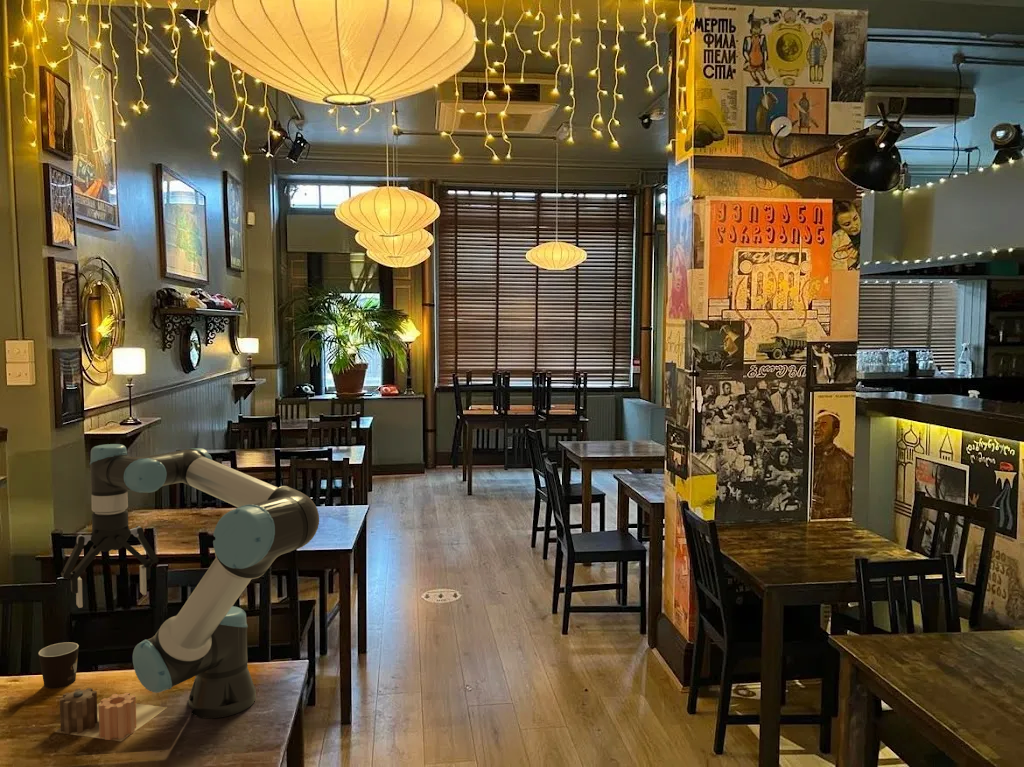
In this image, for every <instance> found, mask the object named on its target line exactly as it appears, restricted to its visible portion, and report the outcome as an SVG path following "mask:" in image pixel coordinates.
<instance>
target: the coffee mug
mask: <svg viewBox="0 0 1024 767" xmlns="http://www.w3.org/2000/svg"><path fill="white" fill-rule="evenodd" d="M79 646H80V645H79V644H78V643H76V642H73V641H72V642H69V641H68V642H67V641H66V642H58V643H54V644H50V645H48V646H45V647H43V648H41V649H40V650H39V651H38V658H39V664H40V668H41V670H40V671H41V675H42V680H43V685H44V686H43V687H44V688H45V689H49V690H53V689H55V690H56V689H62V688H65V687H68V686H71V685H72V684H74V683H75V682H76V678H77V670H78V669H77V668H78V658H79V657H78V656H79Z"/></svg>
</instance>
